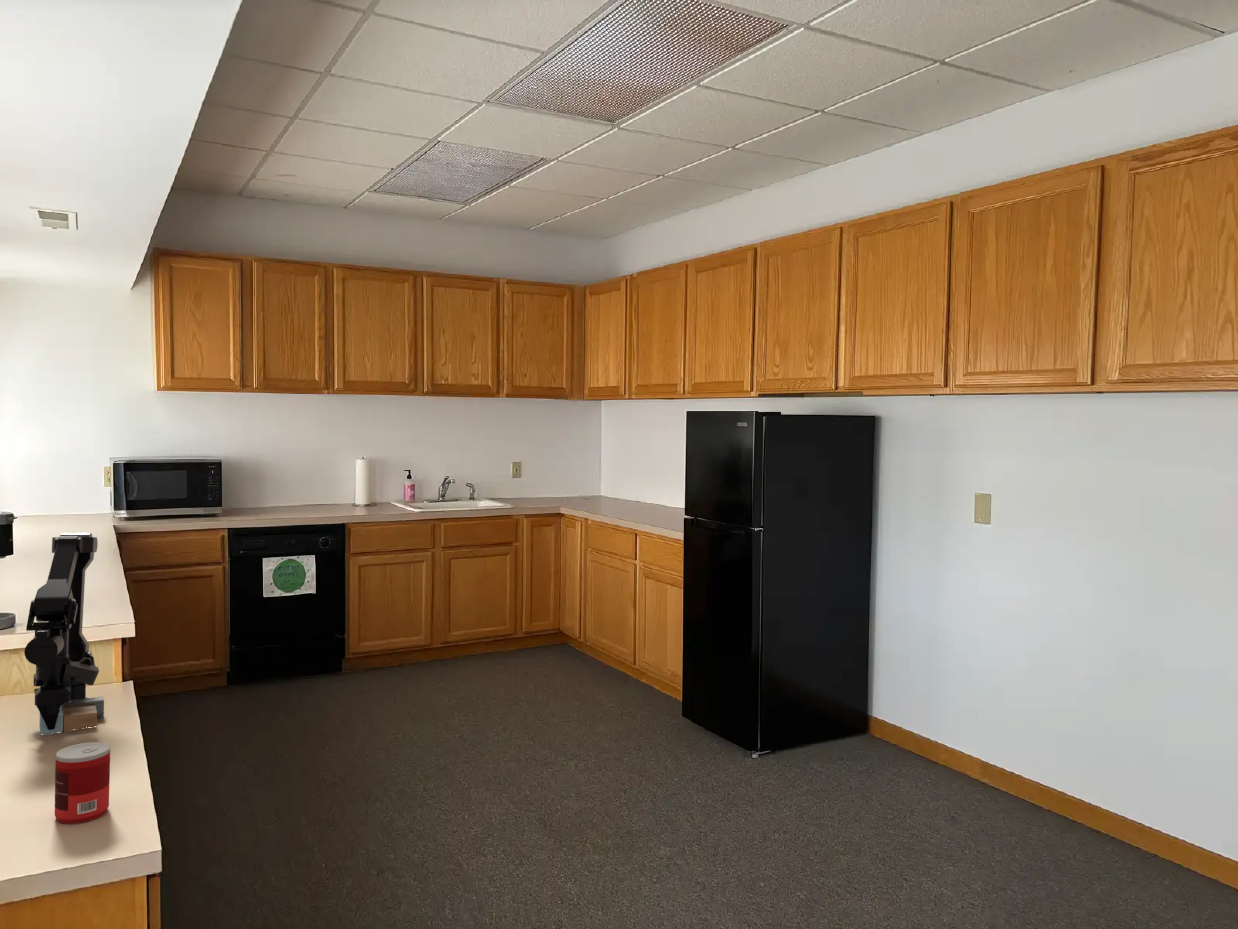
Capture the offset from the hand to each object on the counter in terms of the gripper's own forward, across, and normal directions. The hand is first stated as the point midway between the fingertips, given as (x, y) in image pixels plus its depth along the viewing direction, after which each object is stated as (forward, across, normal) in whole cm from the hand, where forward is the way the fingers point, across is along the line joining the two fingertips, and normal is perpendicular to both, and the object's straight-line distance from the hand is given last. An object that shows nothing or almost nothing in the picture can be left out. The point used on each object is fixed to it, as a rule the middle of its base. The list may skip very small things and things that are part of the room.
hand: (51, 726), depth 188 cm
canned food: (+1, -48, -3) cm, 49 cm away
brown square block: (+1, +2, -5) cm, 6 cm away
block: (+1, 0, 0) cm, 1 cm away
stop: (+1, +6, -6) cm, 9 cm away
